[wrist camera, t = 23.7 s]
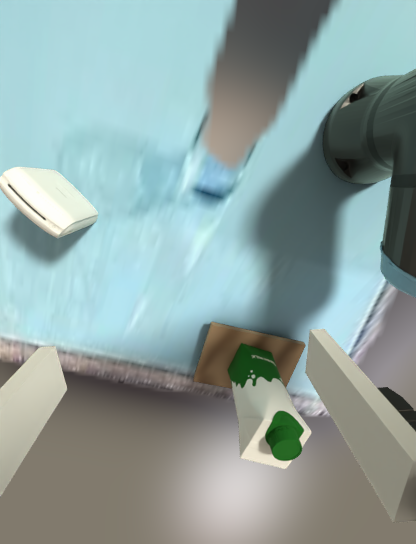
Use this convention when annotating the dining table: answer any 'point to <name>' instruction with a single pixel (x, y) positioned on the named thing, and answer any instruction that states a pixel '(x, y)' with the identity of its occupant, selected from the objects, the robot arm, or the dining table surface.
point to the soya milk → (265, 410)
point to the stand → (226, 343)
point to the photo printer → (48, 200)
